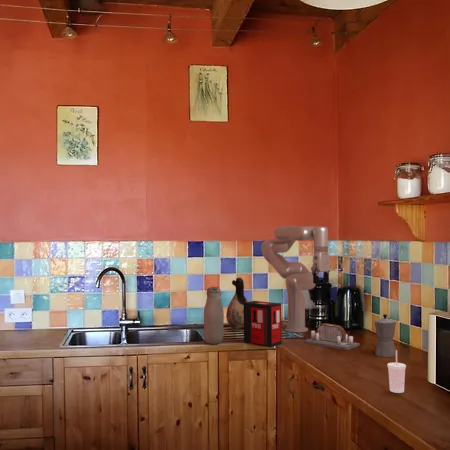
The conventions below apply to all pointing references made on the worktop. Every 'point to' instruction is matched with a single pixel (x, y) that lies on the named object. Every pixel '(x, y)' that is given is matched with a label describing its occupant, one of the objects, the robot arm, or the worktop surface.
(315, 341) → the pin board
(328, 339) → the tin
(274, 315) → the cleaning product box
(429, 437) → the worktop surface
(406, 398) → the worktop surface
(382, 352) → the coffeepot
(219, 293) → the grey brown bottle
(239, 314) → the ceramic jug
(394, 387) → the beverage cup
